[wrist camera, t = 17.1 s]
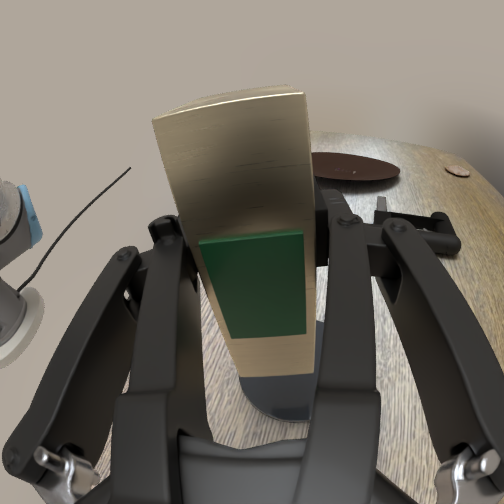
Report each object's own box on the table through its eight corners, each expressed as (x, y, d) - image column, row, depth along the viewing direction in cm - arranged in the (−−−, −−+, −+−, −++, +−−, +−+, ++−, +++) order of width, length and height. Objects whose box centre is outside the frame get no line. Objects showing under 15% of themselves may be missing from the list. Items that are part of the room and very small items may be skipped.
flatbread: (450, 175, 55) (451, 172, 55) (441, 165, 61) (441, 162, 60) (474, 178, 53) (474, 175, 52) (463, 168, 59) (463, 165, 58)
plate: (409, 166, 62) (410, 153, 60) (380, 208, 47) (381, 190, 45) (322, 149, 79) (321, 138, 77) (265, 181, 64) (263, 166, 62)
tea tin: (246, 299, 19) (200, 97, 11) (305, 294, 18) (287, 84, 10) (239, 379, 14) (148, 120, 6) (313, 375, 13) (306, 92, 6)
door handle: (348, 189, 49) (337, 229, 37) (445, 201, 41) (466, 247, 30) (347, 205, 51) (336, 249, 39) (442, 217, 43) (460, 266, 31)
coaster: (235, 333, 30) (234, 329, 30) (337, 312, 30) (338, 308, 30) (245, 432, 21) (244, 431, 20) (373, 403, 21) (374, 400, 20)
